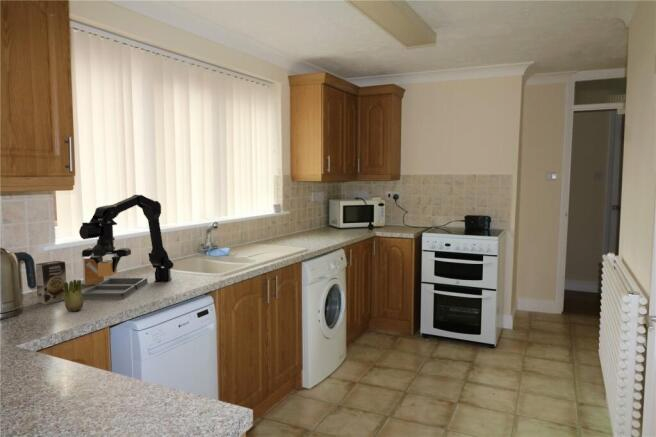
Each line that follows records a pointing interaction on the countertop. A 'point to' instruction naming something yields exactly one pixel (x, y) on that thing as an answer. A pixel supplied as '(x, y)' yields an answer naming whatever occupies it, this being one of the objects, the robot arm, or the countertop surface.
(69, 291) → the fennel bulb
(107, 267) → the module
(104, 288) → the case lid
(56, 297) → the coffee box
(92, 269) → the small box
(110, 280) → the case
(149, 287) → the countertop surface
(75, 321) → the countertop surface
